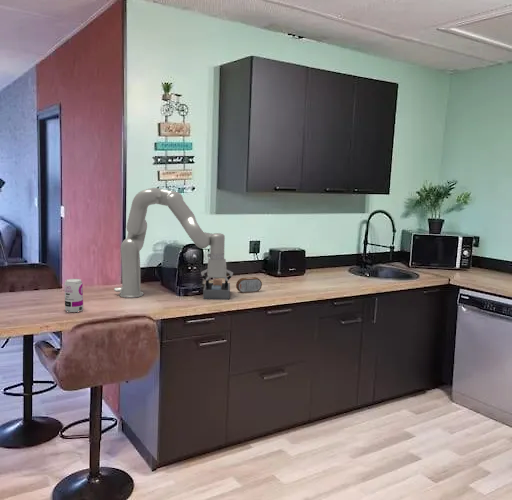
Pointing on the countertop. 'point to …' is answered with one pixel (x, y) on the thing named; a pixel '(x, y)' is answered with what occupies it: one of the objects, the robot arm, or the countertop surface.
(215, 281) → the cylinder
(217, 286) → the cube
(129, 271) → the robot arm
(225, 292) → the tote
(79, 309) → the supplement can
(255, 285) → the tin
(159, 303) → the countertop surface
